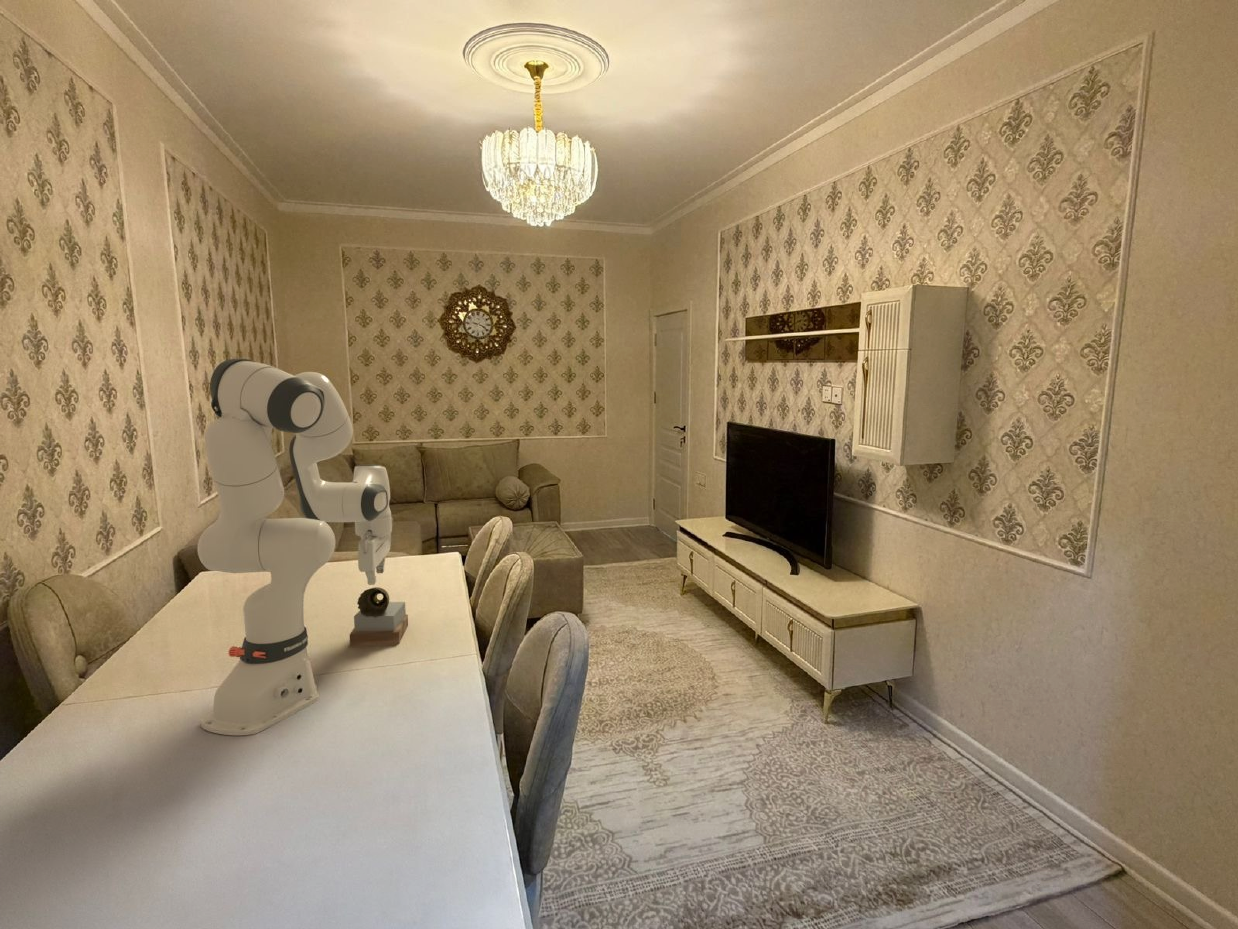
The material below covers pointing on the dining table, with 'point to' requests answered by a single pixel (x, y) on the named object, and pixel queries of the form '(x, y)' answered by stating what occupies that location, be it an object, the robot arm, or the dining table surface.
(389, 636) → the tower base
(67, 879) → the dining table surface
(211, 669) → the dining table surface
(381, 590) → the cup
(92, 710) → the dining table surface
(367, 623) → the tower top
